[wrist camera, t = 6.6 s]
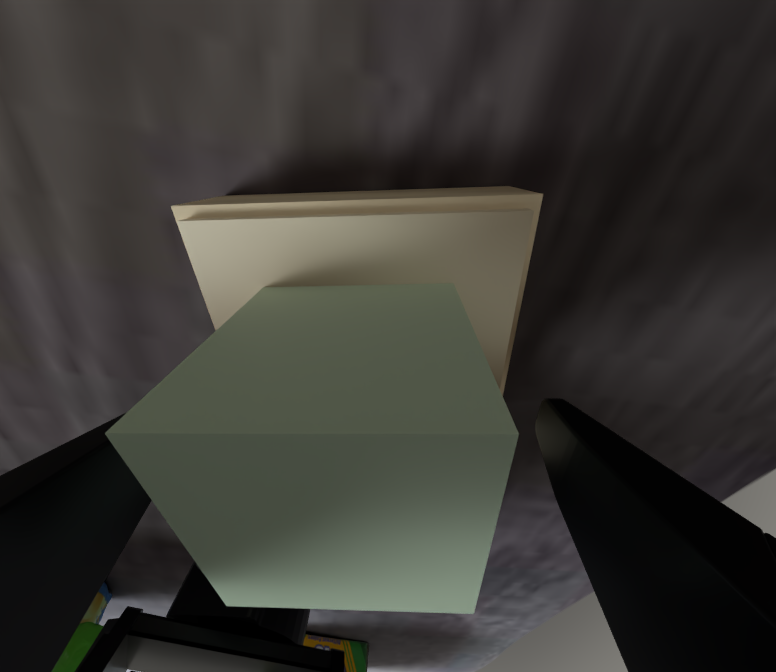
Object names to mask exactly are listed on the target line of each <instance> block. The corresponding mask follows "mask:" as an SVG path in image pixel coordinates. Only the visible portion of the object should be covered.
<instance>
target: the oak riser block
mask: <svg viewBox="0 0 776 672" xmlns="http://www.w3.org/2000/svg"><path fill="white" fill-rule="evenodd" d="M542 198H543V194H541V193H537V192H532V191H528V190H524V189H519V188H515V187H511V186H496V187H467V188H437V189H407V190H377V191H347V192H317V193H288V194H258V195H228V196H219V197H214V198H209V199H204V200H199V201H194V202H189V203H184V204H178V205H173V206H171V208H172V211H173V213H174V216H175V219H176V222H177V225H178V227H179V230H180V233H181V236H182V239H183V241H184V244H185V247H186V250H187V252H188V255H189V258H190V261H191V264H192V266H193V269H194V272H195V275H196V277H197V280H198V283H199V286H200V289H201V291H202V294H203V297H204V300H205V303H206V305H207V308H208V311H209V314H210V316H211V319H212V322H213V325H214V328H215V330H217V329H219V328H220V327H221V326H222V325H223V324H224V323H225V322H226V321H227V320H228V319H229V318H231V317H232V316H233V315H234V314H235V313H236V312H237V311H238V310H239V309H240V308H241V307H242V306H244V305H245V304H246V303H247V302H248V301H249V300H250V299H251V298H252V297H253V296H254V295H256V294H257V293H258V292H259V291H260V290H261V289H262V288H263V287H298V286H344V285H390V284H436V283H454V285H455V288H456V290H457V292H458V295H459V297H460V299H461V302H462V304H463V306H464V309H465V311H466V313H467V315H468V318H469V320H470V322H471V325H472V327H473V329H474V332H475V334H476V336H477V339H478V341H479V343H480V345H481V348H482V350H483V352H484V355H485V357H486V359H487V362H488V364H489V366H490V369H491V371H492V373H493V375H494V378H495V380H496V382H497V385H498V387H499V389H500V392H501V394H502V396H503V392H504V387H505V382H506V377H507V372H508V367H509V362H510V357H511V352H512V348H513V343H514V338H515V333H516V328H517V323H518V318H519V313H520V308H521V303H522V298H523V293H524V288H525V283H526V278H527V273H528V268H529V263H530V258H531V253H532V248H533V243H534V238H535V233H536V228H537V223H538V218H539V213H540V208H541V203H542Z"/></svg>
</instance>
